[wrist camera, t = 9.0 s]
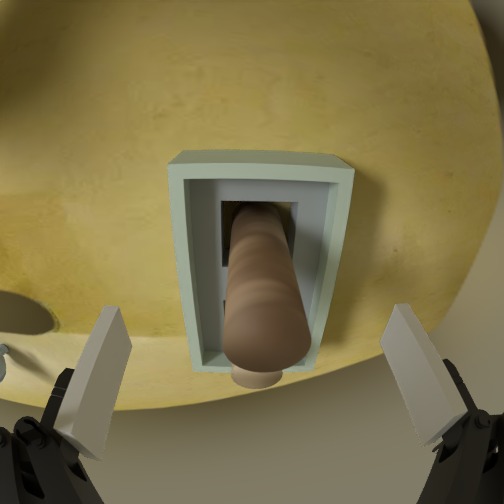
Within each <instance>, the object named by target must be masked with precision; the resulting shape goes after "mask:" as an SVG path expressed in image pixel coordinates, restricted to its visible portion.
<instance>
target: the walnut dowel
mask: <svg viewBox="0 0 504 504" xmlns="http://www.w3.org/2000/svg"><path fill="white" fill-rule="evenodd" d="M222 347H223V351H224V354H225V356H226V357H227V358H228V360H229V361H230V362H232V363H233V364H234V365H236V366H238V367H239V368H242V369H244V370H248V371H252V372H259V373H268V372H276V371H281V370H284V369H287V368H289V367H291V366H293V365H295V364H297V363H298V362H299V361H301V360H302V359H303V358H304V357H305V356H306V354H307V353H308V351H309V349H310V347H311V334H310V330H309V326H308V322H307V318H306V314H305V310H304V306H303V302H302V298H301V294H300V290H299V286H298V282H297V278H296V274H295V271H294V267H293V263H292V259H291V255H290V252H289V248H288V244H287V241H286V237H285V233H284V230H283V226H282V223H281V219H280V215H279V212H278V210H277V208H276V207H275V206H274V205H273V204H272V203H271V202H269V201H244V202H242V203H241V204H239V206H238V207H237V208H236V209H235V211H234V214H233V220H232V231H231V242H230V253H229V265H228V277H227V289H226V302H225V315H224V329H223V343H222Z"/></svg>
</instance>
